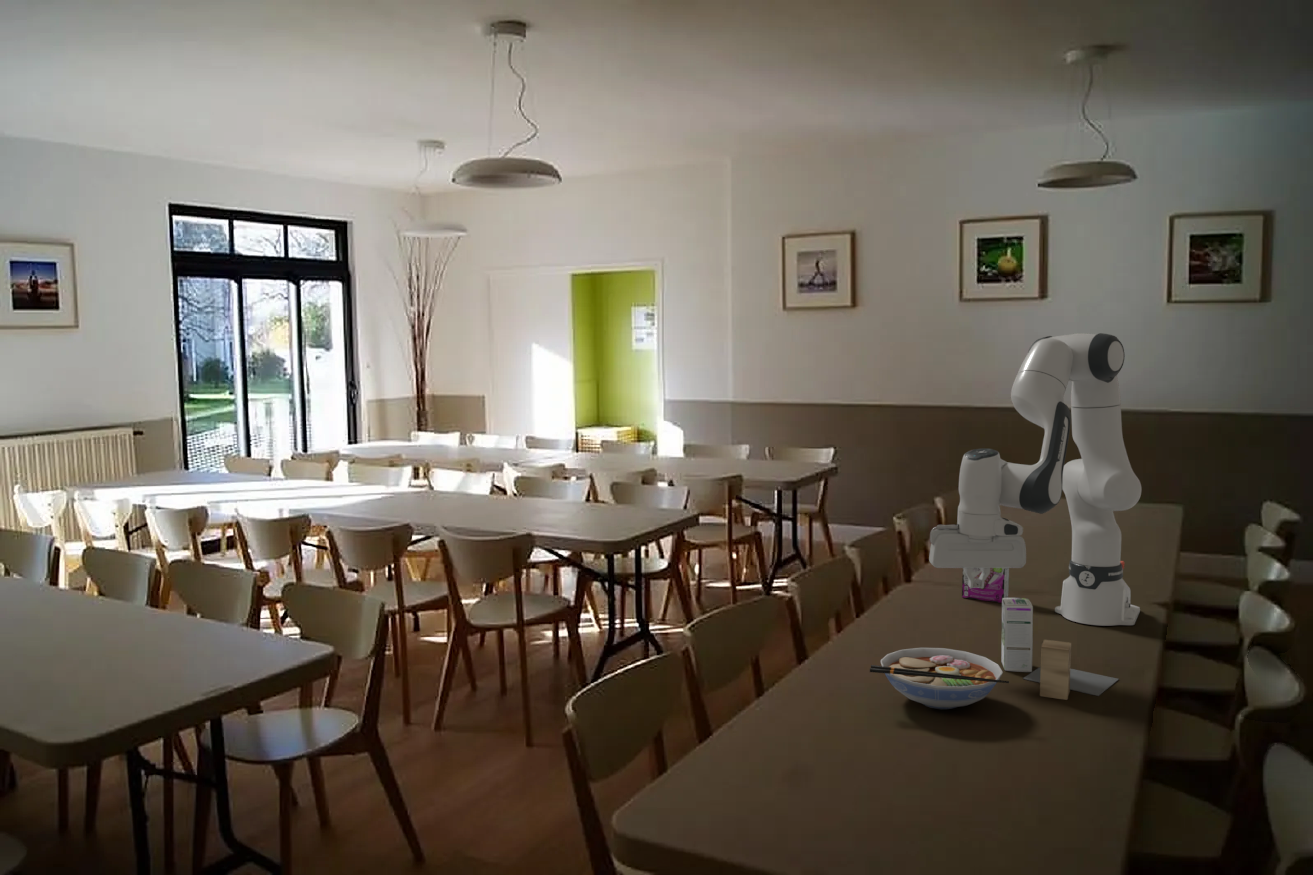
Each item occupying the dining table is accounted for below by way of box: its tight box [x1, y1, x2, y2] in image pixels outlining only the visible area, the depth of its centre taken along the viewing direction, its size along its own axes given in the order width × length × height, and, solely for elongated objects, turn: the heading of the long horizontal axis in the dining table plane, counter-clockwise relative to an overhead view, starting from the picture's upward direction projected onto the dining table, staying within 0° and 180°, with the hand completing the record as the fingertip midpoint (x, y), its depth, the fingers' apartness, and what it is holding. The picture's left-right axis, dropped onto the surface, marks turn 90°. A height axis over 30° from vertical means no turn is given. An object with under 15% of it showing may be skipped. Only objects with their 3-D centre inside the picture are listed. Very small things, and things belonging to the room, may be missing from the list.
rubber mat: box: [1022, 666, 1120, 697], centre depth 209 cm, size 12×15×1 cm
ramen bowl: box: [869, 647, 1010, 710], centre depth 197 cm, size 25×23×8 cm
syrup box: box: [1000, 597, 1034, 673], centre depth 216 cm, size 6×6×14 cm
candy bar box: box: [961, 568, 1010, 604], centre depth 269 cm, size 11×5×16 cm, turn 58°
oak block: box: [1039, 638, 1072, 701], centre depth 200 cm, size 5×5×10 cm
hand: (976, 587), depth 221 cm, fingers closed
